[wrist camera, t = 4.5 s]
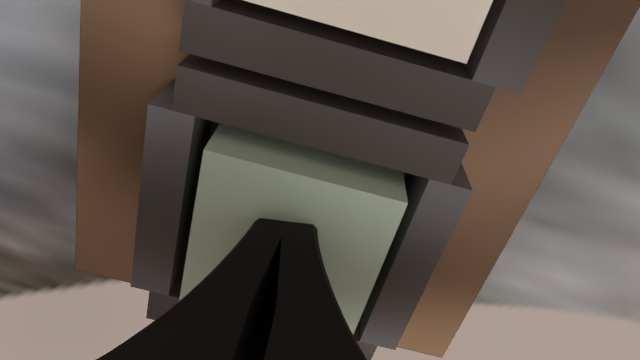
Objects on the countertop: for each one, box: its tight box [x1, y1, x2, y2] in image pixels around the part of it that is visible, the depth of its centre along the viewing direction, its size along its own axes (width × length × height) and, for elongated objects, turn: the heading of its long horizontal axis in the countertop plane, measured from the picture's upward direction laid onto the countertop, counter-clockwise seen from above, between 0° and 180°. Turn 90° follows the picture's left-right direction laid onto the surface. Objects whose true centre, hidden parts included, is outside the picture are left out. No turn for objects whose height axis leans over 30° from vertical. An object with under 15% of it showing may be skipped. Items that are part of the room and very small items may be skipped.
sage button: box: [179, 123, 408, 334], centre depth 12 cm, size 4×4×2 cm
